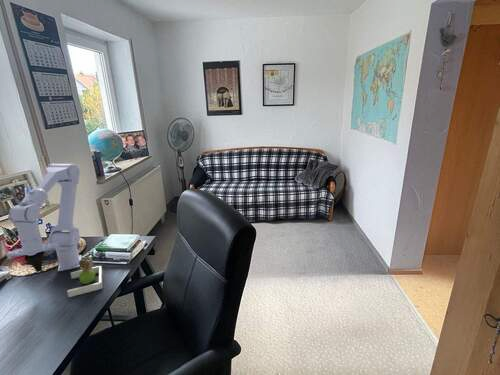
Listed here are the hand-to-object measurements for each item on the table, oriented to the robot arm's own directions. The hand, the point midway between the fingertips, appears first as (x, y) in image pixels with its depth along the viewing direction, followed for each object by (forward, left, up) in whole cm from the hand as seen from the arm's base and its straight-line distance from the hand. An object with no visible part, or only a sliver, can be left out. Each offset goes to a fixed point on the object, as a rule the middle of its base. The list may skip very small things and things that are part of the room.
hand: (39, 270), depth 98 cm
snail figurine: (+3, +15, -9) cm, 17 cm away
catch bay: (+3, +14, -8) cm, 16 cm away
